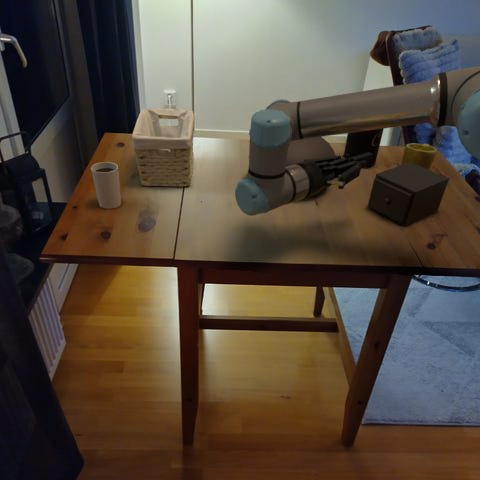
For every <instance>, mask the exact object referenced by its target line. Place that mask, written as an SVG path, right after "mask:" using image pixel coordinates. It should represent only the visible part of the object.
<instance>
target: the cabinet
mask: <svg viewBox="0 0 480 480" xmlns="http://www.w3.org/2000/svg"><path fill="white" fill-rule="evenodd" d="M376 178H378V179H380V180H384V181H386V182H388V183H390V184H392V185H395V186H397V187H399V188H401V189H403V190H405V191H408V192H410V193H412V198H411V201H410V205H409V208H408V211H407V214H406V218H405V221H404V222H403V223H400V222H398V221H396V220H394V219H392V218H390V217H388V216H386V215H384V214H382V213H380V212H378V211H376V210H374V209H372V208H371V207H369V206H368V205H367V208H369V209H370V210H373V211H375V212H377V213H378V214H381V215H383V216H384V217H386V218H388V219H390V220H392V221H394V222H396V223H397V224H399V225H401V226H404V227H406V226H409V225H411V224H413V223H415V222H418V221H420V220H422V219H425V218H426V217H428V216H430V215H433V214H435V213H437V212H438V211H439V209H440V205H441V203H442V200H443V198H444V194H445V192H446V189H447V186H448V183H449V180H450V178H449V177H447V176H445V175H442V174H439V173H437V172H435V171H432V170H431V169H430V170H428V169H425V168H423V167H420V166H418V165H416V164H413V163H411V162H409V163H406V164H403V165H402V164H401V165H398V166H395V167H392V168H389V169H387V170H384V171H381V172H378V173H376V174H375V177H374V179H376Z"/></svg>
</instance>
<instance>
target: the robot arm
mask: <svg viewBox="0 0 480 480" xmlns="http://www.w3.org/2000/svg"><path fill="white" fill-rule="evenodd" d="M421 124H430V125H431V126H432V127H433V128H439V127H454V128H455V129H456V130H457V131H456V132H457V136H458V139H459V141H460V144H461V145H462V146H463V148H464V149H465V151H466V152H467V153H469V155H471V156H472V157H473V158H475V159H476V160H478V161H480V65H477V66H470V67H464V68H460V69H454V70H449V71H443V72H437V73H435V74H434V75H433V76H432V77H431V78H430V79H429V80H423V81H417V82H411V83H405V84H400V85H399V84H398V85H392V86H387V87H381V88H374V89H368V90H362V91H355V92H348V93H343V94H337V95H331V96H330V95H329V96H324V97H318V98H312V99H306V100H300V101H290V100H287V99H276V100H274V101H272V102H271V103H270V104H269V105H268V106H266V107H265V109H261V110H258V111H255V112H254V113H253V114H252V115H251V120H250V127H249V128H250V129H249V130H248V135H249V148H248V149H249V150H248V151H249V152H248V168H247V177H245V178H243V179H242V180H240V181H238V182H237V185H236V187H235V189H234V197H235V201H236V204H237V206H238V208H239V210H240V211H241V212H242V213H243V214H245V215H246V216H250V217H254V216H258V215H261V214H266V213H269V212H270V211H273V210H275V209H278V208H280V207H283V206H287V205H289V204H292V203H295V202H297V201H301V200H303V199H307V198H309V197H313V196H315V195H317V194H318V193H319V192H321V190H322V189H323V188H326V187H329V188H330V187H332V185H334V186H336V187H337V188H338V189H339V190H344V188H345V186H346V185H348V184H350V183H351V182H352V181H354V180H356V179H357V178H358V177H360V175H361V170H362V169H365V167H366V166H369V165H371V162H372V157H373V154H372V153H370V152H367V153H364V154H361V155H358V156H354V157H351V158H349V156H350V155H349V154H345V157H344V158H343V157H342V155H339V154H338V155H335V156H331V157H324V158H318V159H304V162H301V163H298V164H294V165H291V166H288V167H286V160H287V152H288V147H289V144H290V141H294V140H301V139H307V138H315V137H322V138H323V137H329V136H337V135H338V136H339V135H346V134H348V133H353V132H361V131H368V130H376V129H390V128H397V127H406V126H415V125H421ZM366 168H367V167H366Z"/></svg>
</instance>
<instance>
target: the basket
mask: <svg viewBox="0 0 480 480" xmlns="http://www.w3.org/2000/svg"><path fill="white" fill-rule="evenodd" d="M160 119H162V120H177V121H178V125H161V124H160ZM194 128H195V113H194V111H193V110H191V109H177V108H142V109H141V111H140V113H139V114H138V117H137V119H136V122H135V126H134V128H133V131H132V135H131V139H132V148H133V151H134V154H135V160H136V164H137V170H138V173H139V176H140V177H139V178H140V183H141V185H143V186H145V187H149V186H150V187H152V186H153V187H159V186H160V187H180V188H181V187H189V186H190V185H191V182H192V178H193V173H194V171H193V170H194Z"/></svg>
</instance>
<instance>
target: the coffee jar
mask: <svg viewBox="0 0 480 480" xmlns="http://www.w3.org/2000/svg"><path fill="white" fill-rule="evenodd" d="M384 129H385V128H384ZM384 129H376V130H368V131H361V132H353V133H347V135H346V141H345V146H344V152H343V157H342V158H344V157H345V154H349V155H350V156H349V158H351V157H354V156H358V155H361V154H364V153H367V152H370V153H372V154H373V157H372V162H371V165H369V166H366V167H365V168H366V169H367V168H370V167H373V165H375V163H376V162H377V160H378V159H377V158H378V155H379V150H380V146H381V143H382V142H381V141H382V137H383V133H384ZM365 168H364V169H365Z"/></svg>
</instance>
